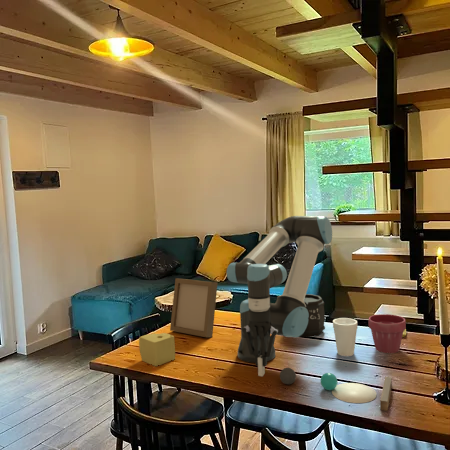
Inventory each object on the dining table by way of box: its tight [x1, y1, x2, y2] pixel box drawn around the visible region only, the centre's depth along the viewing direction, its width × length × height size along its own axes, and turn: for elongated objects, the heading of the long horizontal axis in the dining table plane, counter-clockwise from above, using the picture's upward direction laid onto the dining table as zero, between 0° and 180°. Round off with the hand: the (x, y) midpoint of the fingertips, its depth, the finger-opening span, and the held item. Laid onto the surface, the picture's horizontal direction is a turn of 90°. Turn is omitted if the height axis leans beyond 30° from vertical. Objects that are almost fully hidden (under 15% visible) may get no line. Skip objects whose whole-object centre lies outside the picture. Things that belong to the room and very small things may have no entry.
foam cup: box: [332, 317, 358, 357], centre depth 185 cm, size 10×9×13 cm
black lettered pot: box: [298, 293, 326, 338], centre depth 213 cm, size 18×18×16 cm
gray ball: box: [279, 367, 297, 385], centre depth 160 cm, size 6×6×6 cm
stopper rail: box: [379, 376, 393, 412], centre depth 147 cm, size 2×18×3 cm, turn 157°
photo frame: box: [169, 277, 218, 338], centre depth 220 cm, size 15×22×25 cm
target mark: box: [331, 382, 378, 404], centre depth 151 cm, size 14×14×1 cm
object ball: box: [320, 372, 338, 391], centre depth 154 cm, size 6×6×6 cm
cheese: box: [138, 332, 176, 367], centre depth 186 cm, size 10×11×10 cm
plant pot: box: [368, 313, 407, 354], centre depth 187 cm, size 14×14×13 cm
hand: (261, 374), depth 163 cm, fingers closed
